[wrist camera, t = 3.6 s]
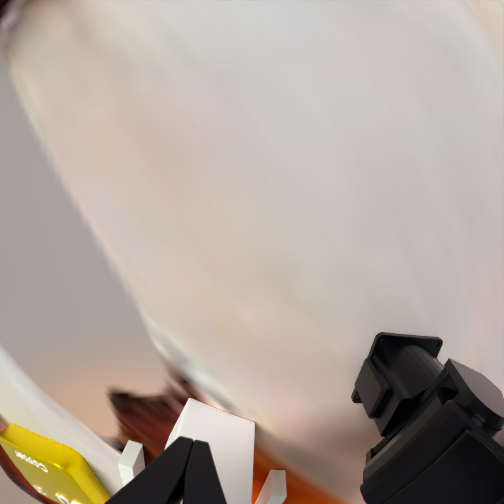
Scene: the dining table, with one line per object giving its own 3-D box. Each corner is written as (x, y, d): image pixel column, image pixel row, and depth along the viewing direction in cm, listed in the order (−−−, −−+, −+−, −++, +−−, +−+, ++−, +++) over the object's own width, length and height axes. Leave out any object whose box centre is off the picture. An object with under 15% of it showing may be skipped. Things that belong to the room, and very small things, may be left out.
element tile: (80, 447, 25) (64, 472, 20) (118, 504, 28) (109, 526, 24) (7, 417, 26) (-10, 435, 21) (47, 478, 29) (36, 494, 24)
